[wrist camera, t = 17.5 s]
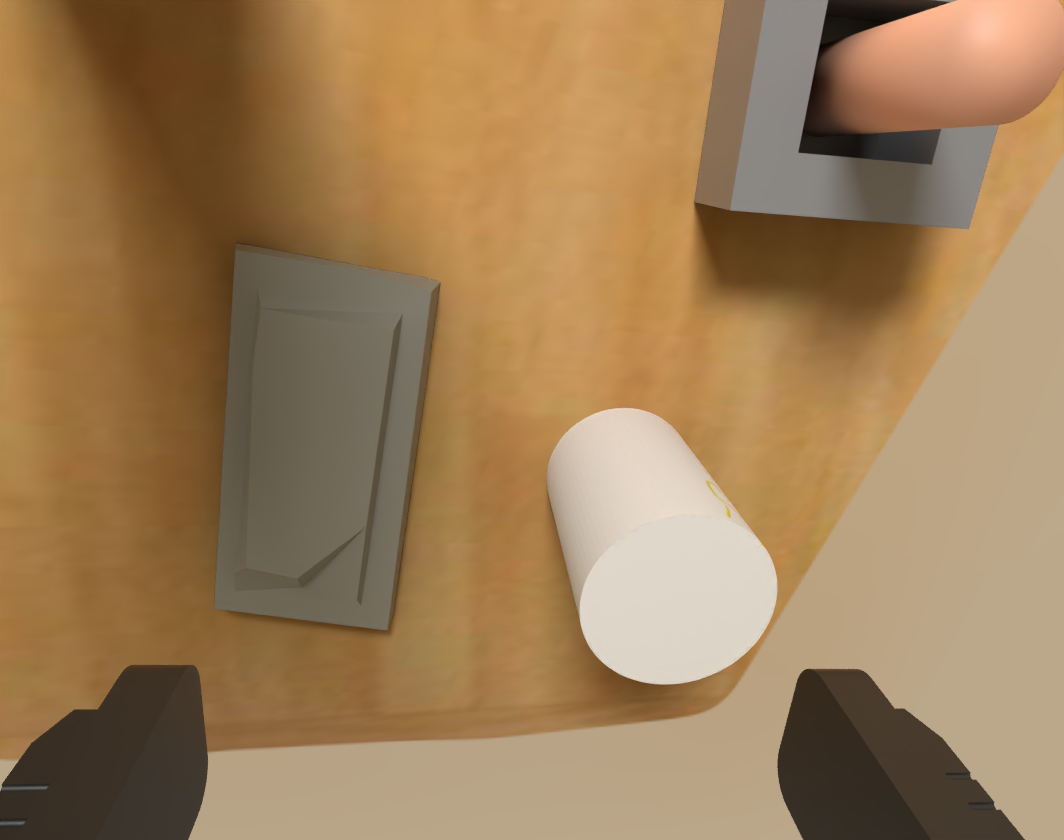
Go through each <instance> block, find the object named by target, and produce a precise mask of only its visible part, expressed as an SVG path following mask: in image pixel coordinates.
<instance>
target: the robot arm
mask: <svg viewBox="0 0 1064 840" xmlns="http://www.w3.org/2000/svg"><path fill="white" fill-rule="evenodd" d="M207 769H208V755H207V745H206V735H205V725H204V715H203V705H202V696H201V686H200V677H199V673H198V670H197V668H196V667H195V666H193V665H131V666H129V667H127V668H126V669H125V670H124V671H123V672H122V673H121V675H120V676H119V678H118V679H117V681H116V682H115V684H114V685H113V687H112V689H111V690H110V692H109V693H108V695H107V696H106V698H105V699H104V701H103V702H102V704H101V706H100V707H99V709H98V710H73V711H72V712H71V713H69V714H68V715H67V716H66V717H64V718H63V719H62V720H60V721H59V722H58V723H57V724H55V725H54V726H53V727H52V728H50V729H49V730H48V731H47V732H45V733H44V734H43V735H41V736H40V737H39V738H38V739H36V740H35V741H34V742H33V743H31V745H30V746H29V747H28V749H27V750H26V752H25V753H24V754H23V756H22V757H21V758H20V760H19V761H18V763H17V764H16V765H15V767H14V768H13V770H12V771H11V772H10V774H9V775H8V776H7V778H6V779H5V781H4V782H3V784H2V788H1V791H0V840H188V838H189V836H190V834H191V831H192V829H193V826H194V823H195V821H196V818H197V816H198V813H199V810H200V807H201V804H202V800H203V796H204V791H205V786H206V780H207ZM778 777H779V784H780V788H781V792H782V795H783V798H784V801H785V803H786V805H787V808H788V810H789V811H790V813H791V816H792V818H793V820H794V822H795V824H796V826H797V828H798V830H799V832H800V834H801V836H802V838H803V840H1025V839H1024V838H1023V837H1022V836H1021V834H1020V833H1019V832H1018V831H1017V829H1016V828H1015V827H1014V826H1013V825H1012V823H1011V822H1010V821H1009V820H1008V818H1007V817H1006V816H1005V815H1004V814H1003V812H1002V811H1001V810H996V809H995V807H994V801H993V800H992V799H991V798H990V796H989V795H988V794H987V793H986V791H985V790H984V789H983V788H982V786H981V785H980V784H979V783H978V782H977V780H972V779H971V777H970V772H969V771H968V769H967V768H966V767H965V766H964V764H963V763H962V762H961V761H960V759H959V758H958V757H957V756H956V755H955V753H954V752H953V751H952V750H951V748H950V747H949V746H948V745H947V743H946V742H945V741H944V740H943V739H942V738H941V737H940V736H939V735H938V734H936V733H935V732H934V731H932V730H931V729H930V728H928V727H927V726H926V725H925V724H923V723H922V722H921V721H919V720H918V719H917V718H915V717H914V716H913V715H911V714H910V713H909V712H908V711H906V710H905V709H894V707H893V706H892V705H891V703H890V702H889V701H888V699H887V698H886V697H885V695H884V694H883V693H882V692H881V690H880V689H879V688H878V686H877V685H876V684H875V682H874V681H873V680H872V679H871V677H870V676H869V675H868V674H867V673H865V672H864V671H862V670H859V669H806V670H804V671H803V672H802V673H801V674H800V676H799V678H798V680H797V684H796V688H795V692H794V695H793V700H792V703H791V707H790V711H789V714H788V718H787V722H786V726H785V730H784V734H783V737H782V741H781V745H780V749H779V754H778Z"/></svg>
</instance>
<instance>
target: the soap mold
mask: <svg viewBox="0 0 1064 840" xmlns="http://www.w3.org/2000/svg"><path fill="white" fill-rule="evenodd" d="M439 288H440V282H438V281H435V280H432V279H428V278H425V277H422V276H416V275H410V274H404V273H398V272H392V271H386V270H381V269H375V268H370V267H364V266H359V265H354V264H348V263H343V262H337V261H332V260H327V259H321V258H316V257H310V256H305V255H300V254H294V253H289V252H284V251H278V250H273V249H267V248H262V247H257V246H251V245H246V244H240V243H236V247H235V261H234V278H233V295H232V311H231V328H230V345H229V362H228V379H227V396H226V413H225V430H224V447H223V463H222V480H221V497H220V514H219V531H218V548H217V565H216V582H215V600H214V609H220V610H228V611H236V612H244V613H252V614H260V615H268V616H276V617H284V618H292V619H300V620H308V621H316V622H324V623H332V624H340V625H348V626H356V627H363V628H371V629H379V630H388V627H389V625H390V623H391V620H392V618H393V612H394V605H395V598H396V591H397V584H398V577H399V570H400V563H401V557H402V550H403V543H404V536H405V529H406V522H407V515H408V508H409V501H410V494H411V487H412V480H413V474H414V467H415V460H416V453H417V446H418V439H419V432H420V425H421V418H422V411H423V404H424V398H425V390H426V383H427V376H428V368H429V361H430V354H431V347H432V339H433V332H434V325H435V317H436V310H437V303H438V295H439Z"/></svg>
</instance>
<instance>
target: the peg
mask: <svg viewBox="0 0 1064 840" xmlns="http://www.w3.org/2000/svg"><path fill="white" fill-rule="evenodd" d="M1063 69H1064V10H1063V8H1062V6H1061V4H1060V3H1059V1H1058V0H956V1H953V2H950V3H947V4H944V5H941V6H938V7H935V8H932V9H929V10H926V11H923V12H920V13H917V14H914V15H911V16H908V17H905V18H902V19H899V20H896V21H893V22H889V23H886V24H883V25H880V26H877V27H874V28H871V29H868V30H865V31H862V32H859V33H856V34H853V35H850V36H847V37H844V38H841V39H838V40H835V41H832V42H829V43H826V44H823V45H820V46H819V50H818V55H817V60H816V65H815V70H814V75H813V80H812V85H811V90H810V95H809V100H808V106H807V111H806V116H805V121H804V126H803V132H804V133H806V134H808V135H812V136H817V137H827V136H842V135H857V134H872V133H886V132H901V131H916V130H930V129H945V128H960V127H975V126H989V125H1000V124H1006V123H1010V122H1013V121H1015V120H1018V119H1020V118H1022V117H1024V116H1025V115H1027V114H1029V113H1030V112H1031V111H1033V110H1034V109H1035V108H1036V107H1038V106H1039V105H1040V104H1041V103H1042V102H1043V101H1044V100H1045V98H1046V97H1047V96H1048V95H1049V94H1050V92H1051V91H1052V90H1053V88H1054V87H1055V85H1056V83H1057V81H1058V80H1059V78H1060V76H1061V73H1062V71H1063Z"/></svg>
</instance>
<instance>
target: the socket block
mask: <svg viewBox="0 0 1064 840" xmlns="http://www.w3.org/2000/svg"><path fill="white" fill-rule="evenodd" d="M953 1H956V0H725V4H724V11H723V18H722V24H721V31H720V37H719V44H718V50H717V57H716V63H715V70H714V76H713V83H712V89H711V96H710V103H709V109H708V116H707V122H706V129H705V135H704V142H703V148H702V155H701V161H700V168H699V174H698V181H697V188H696V194H695V201H694V202H696V203H701V204H705V205H709V206H713V207H718V208H722V209H726V210H731V211H744V212H757V213H770V214H782V215H795V216H808V217H820V218H833V219H846V220H858V221H871V222H884V223H896V224H909V225H922V226H934V227H947V228H960V229H969V227H970V223H971V220H972V216H973V213H974V209H975V206H976V202H977V199H978V195H979V192H980V188H981V185H982V181H983V178H984V174H985V171H986V167H987V164H988V160H989V157H990V153H991V150H992V146H993V143H994V139H995V136H996V132H997V129H998V125H989V126H975V127H960V128H945V129H930V130H916V131H901V132H886V133H872V134H857V135H842V136H827V137H817V136H812V135H808V134H806V133H804V132H803V126H804V121H805V116H806V111H807V106H808V100H809V95H810V90H811V85H812V80H813V75H814V70H815V65H816V60H817V55H818V50H819V46H820V45H823V44H826V43H829V42H832V41H835V40H838V39H841V38H844V37H847V36H850V35H853V34H856V33H859V32H862V31H865V30H868V29H871V28H874V27H877V26H880V25H883V24H886V23H889V22H893V21H896V20H899V19H902V18H905V17H908V16H911V15H914V14H917V13H920V12H923V11H926V10H929V9H932V8H935V7H938V6H941V5H944V4H947V3H950V2H953Z"/></svg>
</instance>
